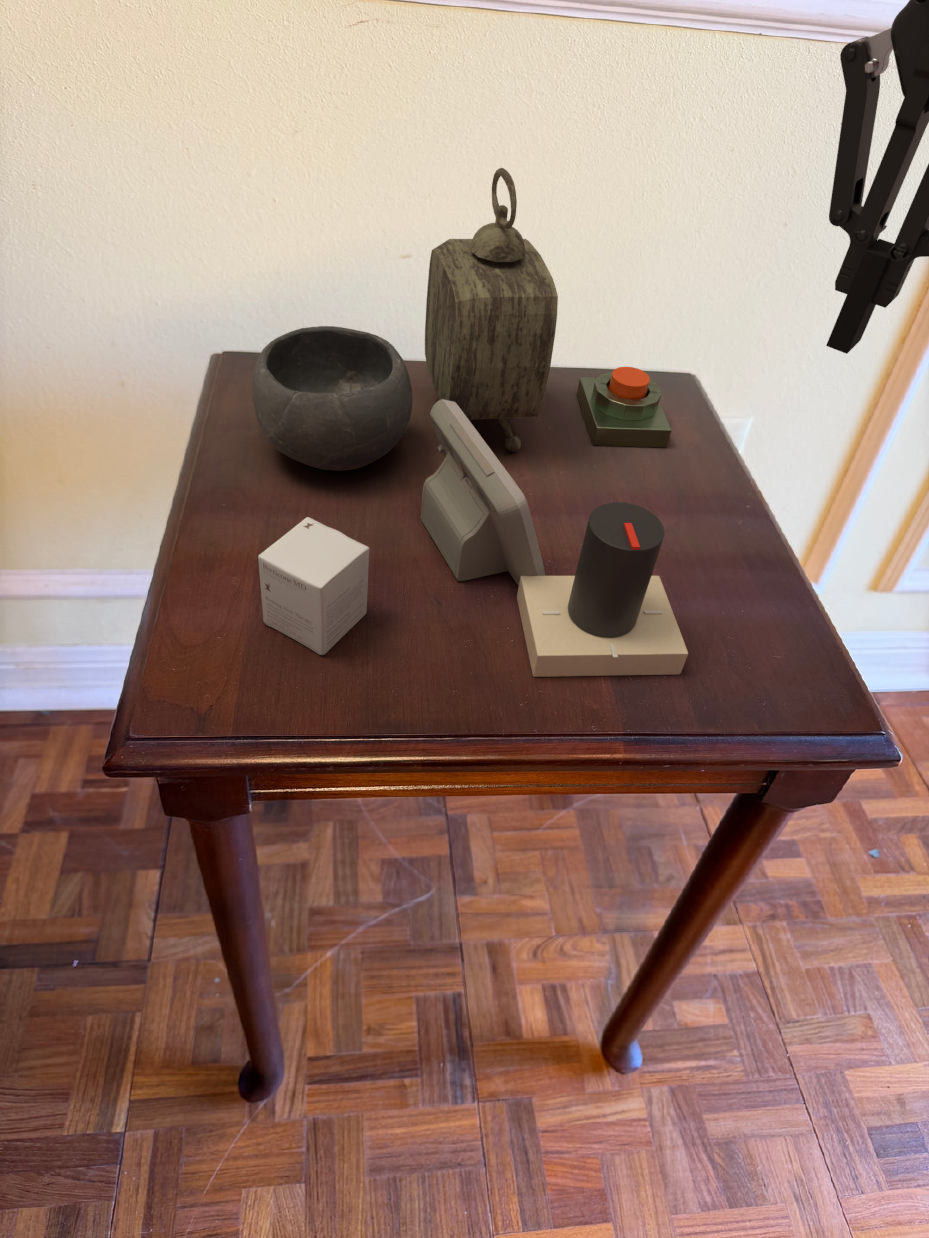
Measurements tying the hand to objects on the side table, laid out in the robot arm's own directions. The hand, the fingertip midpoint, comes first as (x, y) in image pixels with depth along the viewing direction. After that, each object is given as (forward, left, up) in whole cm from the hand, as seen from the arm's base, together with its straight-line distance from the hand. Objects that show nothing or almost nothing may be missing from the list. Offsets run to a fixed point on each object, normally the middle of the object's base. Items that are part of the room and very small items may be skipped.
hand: (843, 342), depth 61 cm
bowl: (+40, +8, -25) cm, 48 cm away
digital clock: (+21, +9, -25) cm, 34 cm away
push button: (+22, -18, -21) cm, 35 cm away
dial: (+7, +12, -22) cm, 26 cm away
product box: (+25, +26, -25) cm, 44 cm away
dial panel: (+7, +12, -24) cm, 28 cm away
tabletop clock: (+33, -6, -25) cm, 42 cm away
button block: (+22, -18, -24) cm, 37 cm away
